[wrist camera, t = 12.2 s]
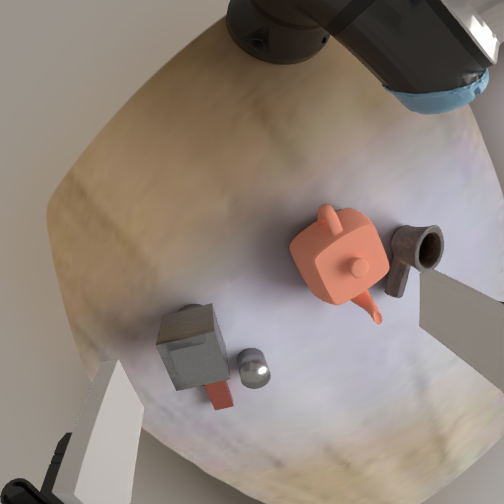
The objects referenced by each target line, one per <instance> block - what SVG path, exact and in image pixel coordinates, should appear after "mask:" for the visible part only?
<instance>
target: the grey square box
mask: <svg viewBox="0 0 504 504" xmlns="http://www.w3.org/2000/svg"><path fill="white" fill-rule="evenodd" d="M156 346H157V349H158V351H159V353H160V356H161V358H162V360H163V363H164V365H165V367H166V369H167V371H168V374H169V376H170V378H171V380H172V382H173V384H174V387H175V389H176V391H178V390H183V389H188V388H192V387H197V386H202V385H206V384H211V383H215V382H219V381H223V380H227V379H231V378H230V372H229V365H228V359H227V353H226V347H225V343H224V340H223V337H222V334H221V331H220V328H219V324H218V321H217V318H216V315H215V311H214V308H213V305H212V303H211V304H208V305H204V306H200V307H196V308H192V309H188V310H184V311H180V312H176V313H172V314H168V315H164V316H163V318H162V322H161V326H160V331H159V335H158V339H157V343H156Z"/></svg>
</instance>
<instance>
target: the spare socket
mask: <svg viewBox="0 0 504 504" xmlns="http://www.w3.org/2000/svg"><path fill="white" fill-rule="evenodd" d="M237 363H238V368H239V373H240V378H241V382H242V384H243V385H244V386H246V387H247V388H251V389H257V388H261V387H263V386H265V385H266V384H267V383H268V382H269V380H270V371H269V369H268V366H267V363H266V360H265V357H264V355H263V353H262V352H261V351H260V350H258V349H256V348H248V349H245V350H243V351H242V352H241V353H240V354H239V355H238V357H237Z"/></svg>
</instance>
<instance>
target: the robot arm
mask: <svg viewBox="0 0 504 504" xmlns="http://www.w3.org/2000/svg"><path fill="white" fill-rule="evenodd" d="M226 22H227V27H228V30H229V33H230V35H231V37H232V38H233V40H234V41H235V42H236V43H237V44H238V45H239V46H240V47H241V48H242V49H243V50H244V51H245V52H247V53H248V54H250V55H252V56H254V57H256V58H258V59H260V60H263V61H266V62H270V63H275V64H295V63H299V62H303V61H305V60H308V59H310V58H311V57H313V56H314V55H316V54H317V53H318V52H319V51H320V50H321V49H322V48H323V47H324V46H325V44H326V43H327V41H328V39H329V37H330V34H331V35H332V36H333V37H334V36H335V37H334V38H335V39H336V40H337V41H339V42H340V43H341V44H342V45H343V46H344V47H345V48H346V49H348V50H349V51H350V52H351V53H352V54H353V55H354V56H355V57H356V58H357V59H358V60H359V61H360V62H361V63H362V64H363V65H364V66H365V67H366V68H367V69H368V70H369V71H370V72H371V73H372V74H373V75H374V76H375V77H376V78H377V79H378V80H379V81H380V82H381V83H382V86H383V87H384V88H385V89H386V90H387V91H389V92H391V93H392V94H393V95H394V96H395V97H396V98H397V99H398V100H399V101H400V102H401V103H402V104H403V105H404V106H405V107H406V108H408V109H409V110H411V111H414V112H418V113H420V114H440V113H444V112H448V111H451V110H454V109H457V108H459V107H461V106H464V105H465V104H467V103H469V102H470V101H472V100H473V99H474V98H475V95H476V94H480V93H482V92H483V91H484V89H485V88H486V86H487V84H488V81H489V75H488V69H487V68H488V67H490V66H492V65H494V64H495V63H497V56H498V48H499V46H500V43H502V42H504V0H230V3H229V6H228V11H227V16H226ZM419 326H420V327H421V328H422V329H424V330H425V331H426V332H428V333H429V334H430V335H432V336H433V337H434V338H435V339H437V340H438V341H439V342H441V343H442V344H443V345H445V346H446V347H447V348H448V349H450V350H451V351H452V352H454V353H455V354H456V355H457V356H459V357H460V358H461V359H462V360H464V361H465V362H466V363H468V364H469V365H470V366H471V367H473V368H474V369H475V370H476V371H478V372H479V373H480V374H481V375H483V376H484V377H485V378H486V379H488V380H489V381H490V382H491V383H492V384H494V385H495V386H496V387H497V388H499V389H500V390H501V391H502V392H503V393H504V302H500V301H496V300H495V299H493V298H491V297H489V296H487V295H485V294H483V293H481V292H479V291H477V290H475V289H473V288H471V287H469V286H467V285H465V284H463V283H461V282H459V281H457V280H455V279H453V278H451V277H449V276H446V275H444V274H442V273H440V272H438V271H436V270H434V269H430V270H427V271H425V272H422V273H420V321H419ZM143 413H144V407H143V405H142V403H141V401H140V400H139V398H138V396H137V394H136V392H135V391H134V389H133V387H132V385H131V383H130V381H129V379H128V377H127V375H126V373H125V371H124V369H123V367H122V365H121V363H120V361H119V359H115V360H110V361H104V362H102V364H101V366H100V368H99V370H98V372H97V375H96V377H95V379H94V382H93V384H92V386H91V388H90V391H89V393H88V396H87V398H86V401H85V403H84V405H83V408H82V410H81V413H80V415H79V417H78V420H77V422H76V425H75V428H74V431H73V433H66V434H65V435H64V437H63V438H62V439H61V440H60V441H59V442H58V445H57V447H56V450H55V452H54V454H55V455H54V456H53V458H52V460H51V464H50V465H49V468H48V471H47V474H46V477H45V479H44V482H43V485H42V488H41V491H40V492H39V491H38V490H37V489H36V488H35V487H34V486H33V485H32V484H31V483H30V482H29V481H27V480H25V479H21V478H18V479H14V480H11V481H10V482H9V483H7V484H6V485H5V487H4V488H3V490H2V492H1V496H0V498H1V503H2V504H130V502H131V493H132V485H133V477H134V470H135V463H136V456H137V449H138V443H139V437H140V431H141V425H142V419H143Z"/></svg>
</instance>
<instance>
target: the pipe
mask: <svg viewBox="0 0 504 504" xmlns="http://www.w3.org/2000/svg"><path fill="white" fill-rule="evenodd" d="M391 248H392V251H393V254H394V257H393V260H392V263H391V267H390V271H389V274H388V279H387V283H386V286H385V291H384V292H385V293H386V294H387V295H390V296H392V297H396V298H401V297H402V296H403V293H404V290H405V286H406V283H407V279H408V274H409V270H410V267H411V266H413V267H414V268H416V269H417V270H419V271H420V272H425V271H427V270H430V269H434V268H435V267H436V266H437V265H438V263H439V262H440V260H441V257H442V254H443V250H444V239H443V234H442V231H441V229H440V228H439V226H437V225H433V226H428V227H413V226H409V225H404V226H401V227H400V228H399V229H397V231H396V232H395V234H394V236H393V238H392V241H391Z"/></svg>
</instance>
